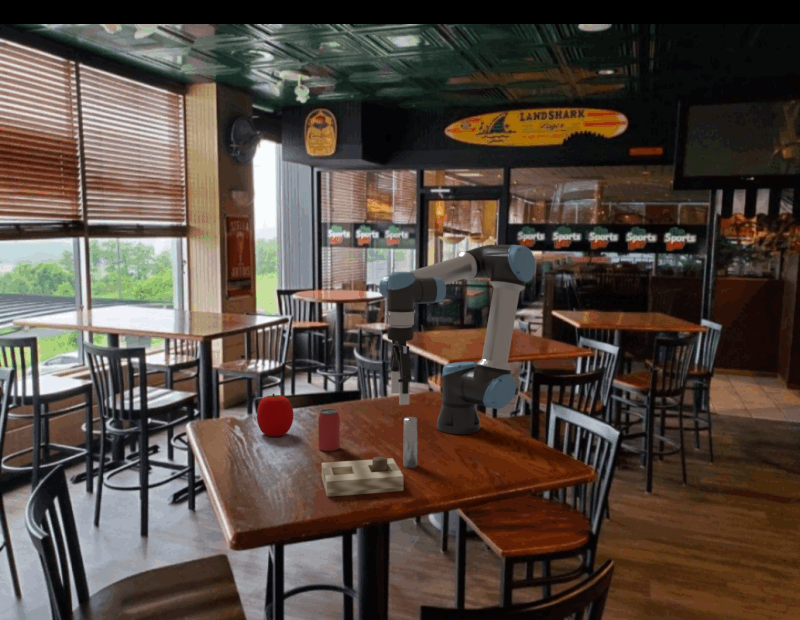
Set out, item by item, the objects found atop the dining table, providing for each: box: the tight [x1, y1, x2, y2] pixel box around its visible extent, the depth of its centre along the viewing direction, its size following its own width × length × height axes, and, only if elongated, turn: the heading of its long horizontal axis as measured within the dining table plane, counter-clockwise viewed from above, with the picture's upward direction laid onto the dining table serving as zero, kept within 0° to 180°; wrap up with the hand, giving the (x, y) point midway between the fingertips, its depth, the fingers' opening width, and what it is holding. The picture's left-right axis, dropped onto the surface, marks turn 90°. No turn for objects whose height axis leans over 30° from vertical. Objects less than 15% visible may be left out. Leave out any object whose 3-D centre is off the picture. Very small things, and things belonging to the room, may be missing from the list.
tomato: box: [256, 393, 294, 438], centre depth 215 cm, size 13×11×14 cm
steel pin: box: [402, 416, 418, 469], centre depth 187 cm, size 4×4×14 cm
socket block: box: [321, 456, 404, 497], centre depth 174 cm, size 20×14×6 cm
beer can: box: [318, 408, 341, 452], centre depth 202 cm, size 7×7×12 cm
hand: (399, 398), depth 187 cm, fingers open, 13 cm apart
